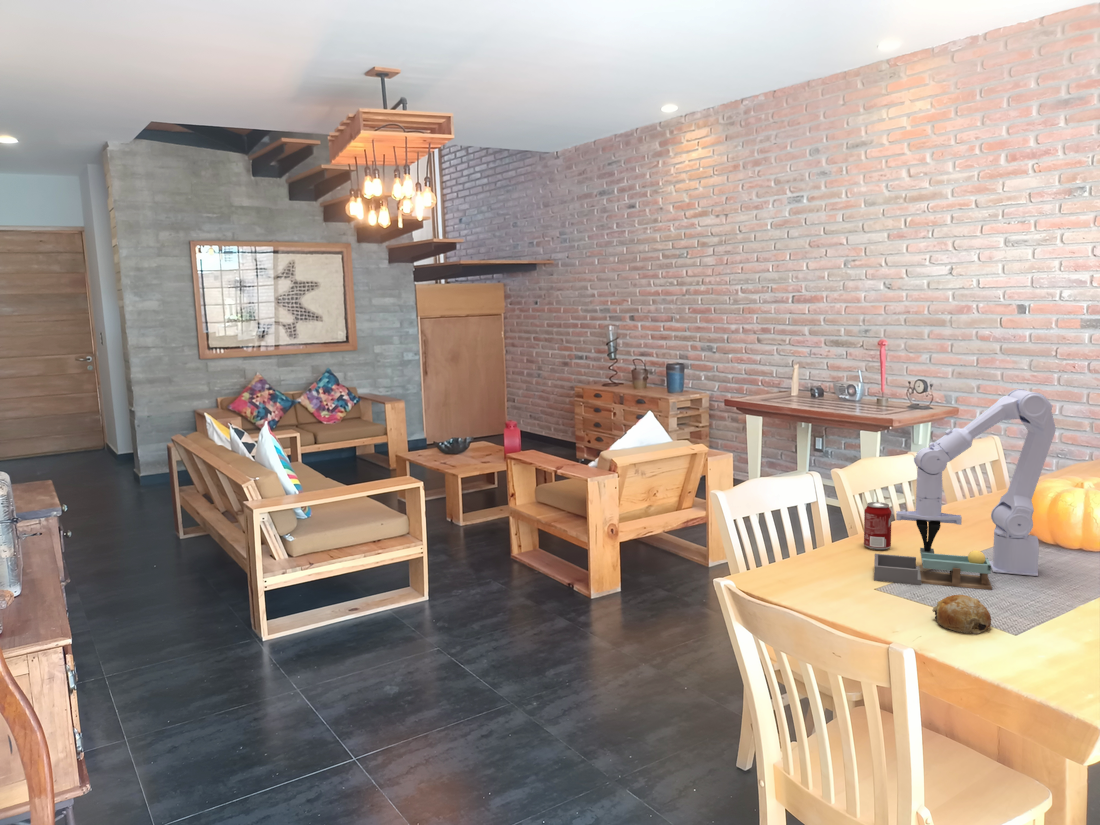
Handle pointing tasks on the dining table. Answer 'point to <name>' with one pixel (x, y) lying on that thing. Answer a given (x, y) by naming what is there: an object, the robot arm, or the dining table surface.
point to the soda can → (877, 526)
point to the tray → (896, 569)
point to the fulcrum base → (956, 579)
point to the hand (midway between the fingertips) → (927, 550)
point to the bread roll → (962, 614)
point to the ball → (976, 557)
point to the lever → (952, 562)
